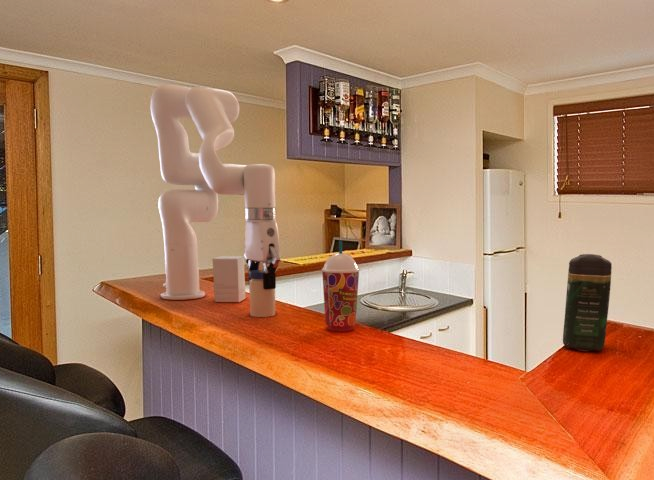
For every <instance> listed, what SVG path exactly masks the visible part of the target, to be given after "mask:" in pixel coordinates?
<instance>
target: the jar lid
mask: <svg viewBox="0 0 654 480" xmlns="http://www.w3.org/2000/svg"><path fill="white" fill-rule="evenodd" d="M263 273H265V271H264V268H262V269H261V268H259V269H258V270H250V271H249V273H248V279H249V278H251V279H263Z"/></svg>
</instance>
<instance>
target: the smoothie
mask: <svg viewBox="0 0 654 480" xmlns="http://www.w3.org/2000/svg"><path fill="white" fill-rule="evenodd" d="M321 272H322V289H323V291H322V292H323V304H324V320H325V325H327V329H328V330H329V331H331V332H337V333H345V332H351V331H352V330H354V325H356V321H357V309H358V308H357V307H358V294H359V293H358V292H359V280H360V279H359V278H360V268H359V267H358V264H357V262H356V261H355V258H353V257H352V256H351V255H349V254H347V253H345V252H343V240H339V241H338V252H336V253H334V254H332V255H330V256H329V257H328V258H327V259H326V261H325V262H324V265H323V267H322V268H321Z"/></svg>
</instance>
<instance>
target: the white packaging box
mask: <svg viewBox="0 0 654 480" xmlns="http://www.w3.org/2000/svg"><path fill="white" fill-rule="evenodd" d="M211 260H212V273H213V292H214V294H213V295H214V302H215V303H240V302H242V301H244V300H246V296H247V295H246V274H245V273H246V271H245V257H244V255H242V256H241V255H220V256H217V257H213V258H212V259H211Z"/></svg>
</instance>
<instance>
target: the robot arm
mask: <svg viewBox="0 0 654 480" xmlns="http://www.w3.org/2000/svg"><path fill="white" fill-rule="evenodd" d="M149 105H150V106H149V107H150V108H149V109H150V115H151V119H152V122H153V126H154V129H155V133H156V137H157V146H158V147H157V148H158V156H159V167H160V174H161V178H162V180H163V181H164V182H165V183H166V184H169V185H173V186H175V185H176V186H194V189H168V190H166V191H164V192H162V193H161V194H160V196H159V198H158V200H157V207H158V212H159V216H160V221H161V226H162V235H163V249H164V251H163V252H164V269H165V282H163V284H162V287H163V288H165V291H164V292H162V293H160V297H161V299H164V300H169V301H170V300H171V301H186V300H196V299H201V298H204V297H205V296H206V292H205V291H204V290H201V289H200V271H199V270H200V269H199V268H200V267H199V246H198V245H199V244H198V236H197V233H196V232H195V230H194V228H193V227H192V225H191V223H209V222H212V221H213V220H215V219H216V218H217V216H218V214H219V213H218V212H219V195H226V196H228V195H229V196H231V195H234V196H235V195H237V196H244V222H245V228H244V229H245V231H244V253H243V256H244V260H245V263H246V265H247V266H246V268H247V272H248V273H249V271H250V270H258V269H260V265H261V264H262V267H263V269H264V271H265V273H263V288H264V289H265V290H267V289H275V290H276V288H277V283H276V280H277V279H276V278H277V277H276V273H277V270H278V269H277V268H278V267H279V264H280V262H281V244H280V243H281V242H280V234H279V227H278V222H277V210H276V207H277V206H276V169H275V168H274V166H273V165H271V164H267V163H252V164H250V163H249V164H238V163H223V162H222V161H221V159H220V158H219V156H218V153H217V152H218V151H219V150H222V149H224V148H226V147H227V146H228V145H230V144H231V142H233V140H234V139H235V129H234V127H233V125H232V124H233V123H234V122H235V121H236V120H237V119H238V117H239V115H240V104H239V101H238V99H237V97H236V96H235V94H234V93H232V92H231V91H229V90H224V89H220V88H212V87H209V86H208V87H207V86H196V87H189V86H184V85H178V84H169V83H168V84H161V85H158V86H156V87H155V88H154V90H153V91H152V93H151V97H150V103H149ZM179 118H180V119H187V120H192V121H193V123H194V125H195V128H196V130H197V131H198V133H199V135H200V138H201V139H202V141H201V145H200V147H199V151H198V152H191V149H190V140H189V135H188V132H187V131H186V129H185V127H184V125H183V124H182V123H181V122H180V121H179ZM250 279H251V278H249V277H248V281H249V280H250Z"/></svg>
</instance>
